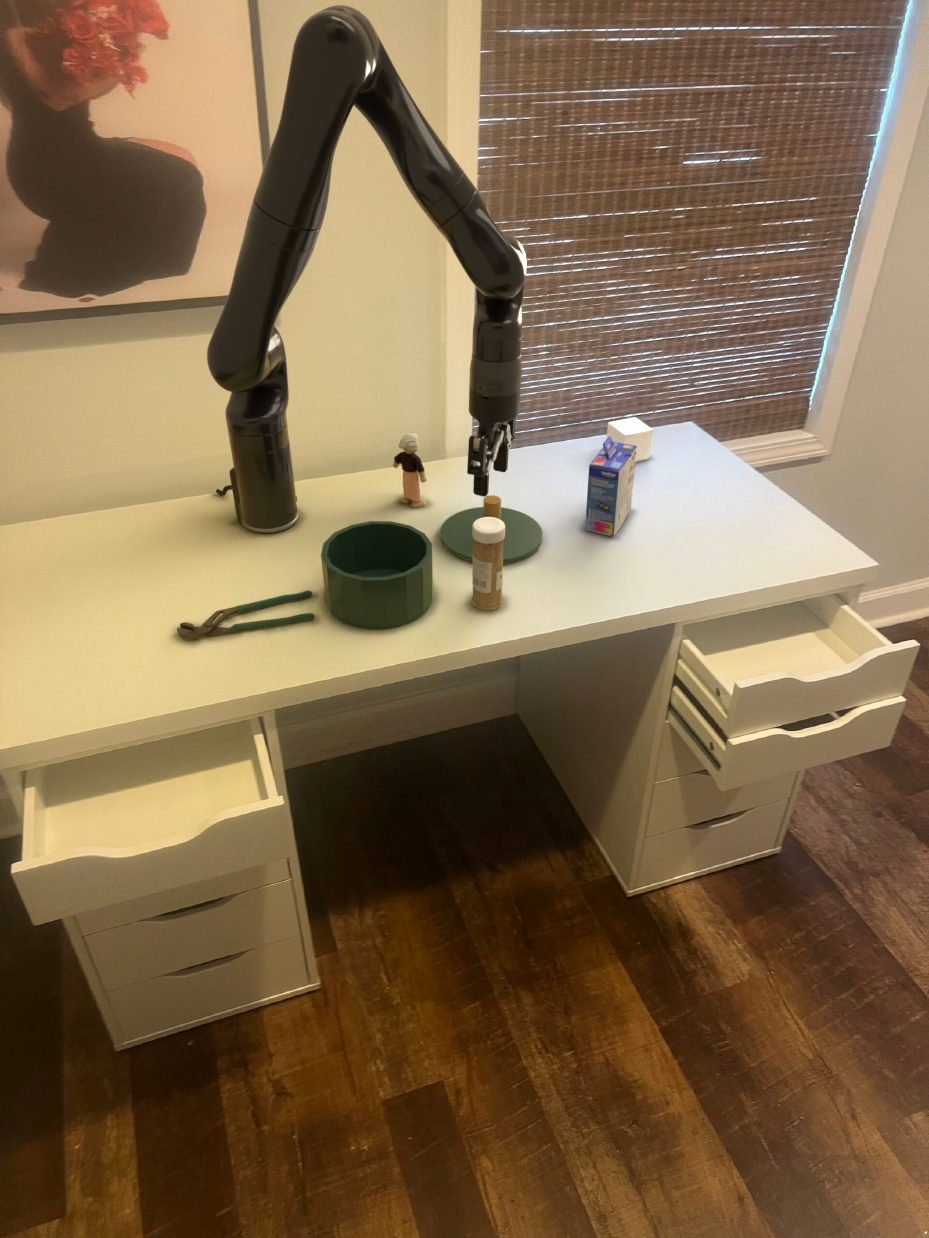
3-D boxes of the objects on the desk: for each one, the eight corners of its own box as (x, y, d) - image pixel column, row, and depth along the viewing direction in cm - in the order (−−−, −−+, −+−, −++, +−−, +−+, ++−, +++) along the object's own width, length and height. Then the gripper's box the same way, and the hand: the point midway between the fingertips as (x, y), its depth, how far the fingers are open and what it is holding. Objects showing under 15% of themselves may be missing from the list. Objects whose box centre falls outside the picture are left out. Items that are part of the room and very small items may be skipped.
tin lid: (423, 552, 144) (422, 513, 139) (463, 505, 156) (463, 467, 152) (522, 575, 139) (524, 535, 134) (555, 524, 151) (558, 486, 147)
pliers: (312, 595, 134) (311, 588, 134) (321, 619, 129) (320, 612, 129) (176, 620, 129) (174, 612, 128) (180, 646, 124) (178, 638, 123)
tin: (307, 614, 130) (301, 565, 125) (357, 559, 142) (354, 512, 137) (404, 640, 126) (402, 590, 121) (449, 582, 137) (449, 534, 132)
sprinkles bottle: (508, 605, 132) (511, 526, 124) (482, 615, 130) (484, 535, 122) (490, 590, 135) (492, 512, 127) (465, 600, 133) (466, 521, 125)
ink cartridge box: (600, 503, 157) (608, 426, 148) (631, 510, 155) (641, 432, 146) (581, 530, 149) (589, 450, 141) (614, 538, 148) (623, 457, 139)
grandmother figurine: (436, 502, 157) (435, 434, 149) (423, 511, 154) (421, 443, 146) (399, 490, 160) (397, 423, 152) (387, 499, 157) (383, 432, 150)
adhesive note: (621, 465, 168) (625, 435, 165) (604, 451, 173) (607, 422, 169) (648, 459, 170) (653, 429, 167) (631, 446, 175) (635, 416, 171)
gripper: (488, 362, 138) (484, 458, 148) (452, 397, 127) (450, 498, 137) (535, 370, 136) (528, 467, 146) (502, 406, 125) (497, 508, 135)
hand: (490, 482), depth 141 cm, fingers open, 8 cm apart
